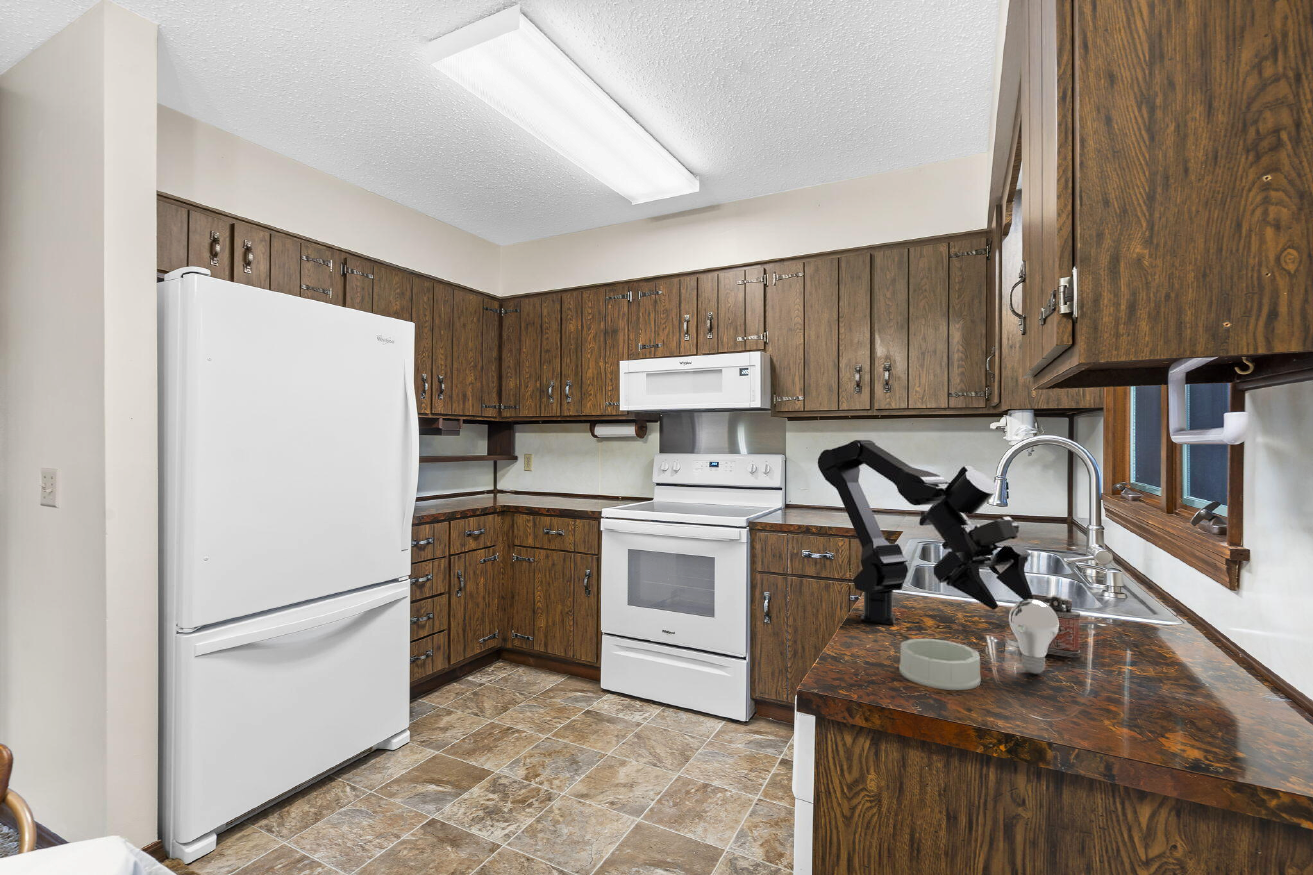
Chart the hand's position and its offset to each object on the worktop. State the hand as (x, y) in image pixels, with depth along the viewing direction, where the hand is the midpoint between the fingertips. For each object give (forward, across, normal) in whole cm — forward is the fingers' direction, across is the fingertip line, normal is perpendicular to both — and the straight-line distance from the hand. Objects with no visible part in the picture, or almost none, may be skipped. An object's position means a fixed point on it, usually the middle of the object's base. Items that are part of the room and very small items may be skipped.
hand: (1014, 605), depth 104 cm
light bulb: (+10, 0, +5) cm, 11 cm away
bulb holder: (+5, -14, +9) cm, 18 cm away
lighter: (+6, +14, +9) cm, 18 cm away
